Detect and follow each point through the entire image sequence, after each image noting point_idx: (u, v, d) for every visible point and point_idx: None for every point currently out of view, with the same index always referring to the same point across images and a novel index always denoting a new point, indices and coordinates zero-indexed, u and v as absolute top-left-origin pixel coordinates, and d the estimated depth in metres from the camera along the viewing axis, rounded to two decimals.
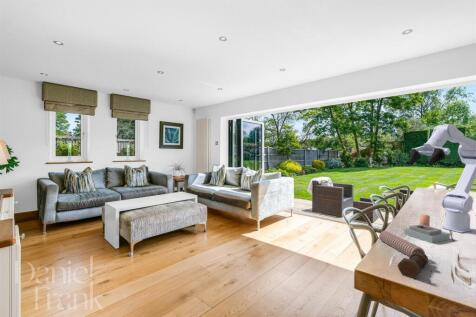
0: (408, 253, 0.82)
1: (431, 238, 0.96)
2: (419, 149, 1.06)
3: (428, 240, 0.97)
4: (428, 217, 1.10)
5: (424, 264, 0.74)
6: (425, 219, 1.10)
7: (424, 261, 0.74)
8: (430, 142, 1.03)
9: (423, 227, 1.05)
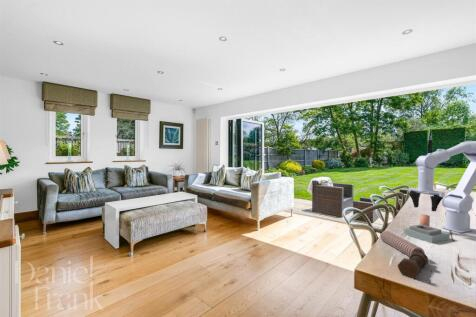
0: (408, 253, 0.83)
1: (431, 238, 0.96)
2: (415, 190, 1.14)
3: (428, 240, 0.97)
4: (428, 217, 1.10)
5: (424, 264, 0.74)
6: (425, 219, 1.10)
7: (424, 261, 0.74)
8: (422, 186, 1.09)
9: (423, 227, 1.05)
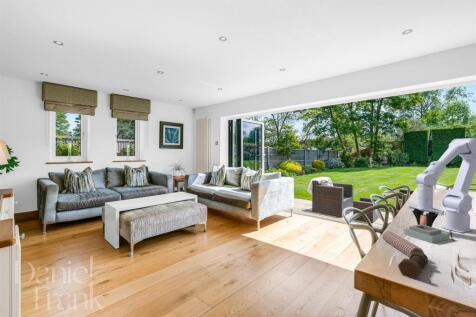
0: (407, 253, 0.83)
1: (431, 238, 0.96)
2: None
3: (428, 240, 0.97)
4: None
5: (424, 264, 0.74)
6: (425, 219, 1.10)
7: (424, 261, 0.74)
8: (422, 204, 1.10)
9: (423, 227, 1.05)
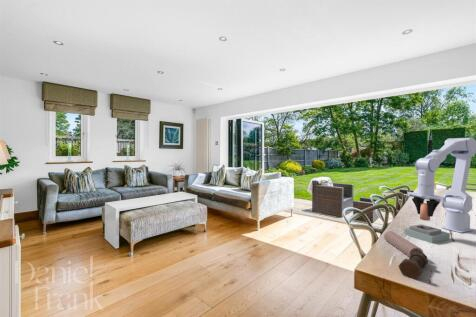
0: (406, 252, 0.83)
1: (431, 238, 0.96)
2: (415, 195, 1.07)
3: (428, 240, 0.97)
4: None
5: (424, 264, 0.74)
6: (426, 208, 1.03)
7: (424, 261, 0.74)
8: (422, 191, 1.03)
9: (423, 227, 1.05)
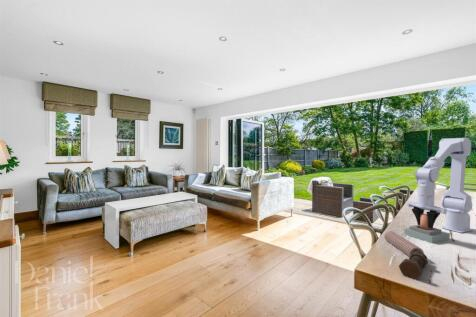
0: (406, 252, 0.83)
1: (431, 238, 0.96)
2: None
3: (428, 240, 0.97)
4: None
5: (424, 264, 0.74)
6: (426, 219, 1.00)
7: (424, 261, 0.74)
8: (422, 201, 1.00)
9: None
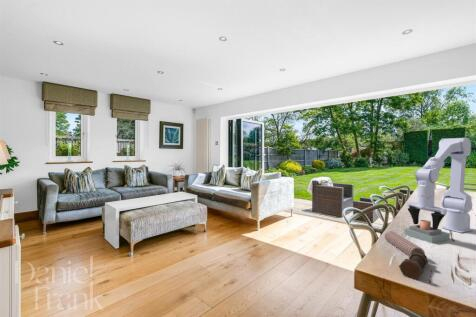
0: (407, 252, 0.83)
1: (431, 238, 0.96)
2: None
3: (428, 240, 0.97)
4: (429, 223, 1.00)
5: (424, 264, 0.74)
6: (426, 226, 1.01)
7: (424, 261, 0.74)
8: (422, 202, 1.00)
9: None
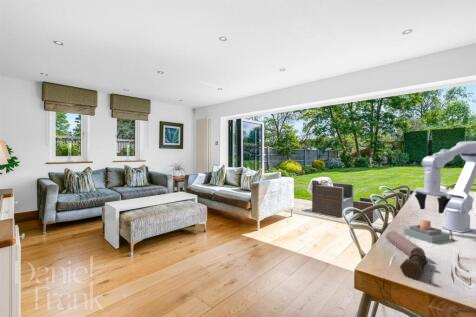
0: (407, 252, 0.83)
1: (431, 238, 0.96)
2: (421, 191, 1.11)
3: (428, 240, 0.97)
4: (429, 223, 1.00)
5: (424, 264, 0.74)
6: (426, 226, 1.01)
7: (424, 261, 0.74)
8: (429, 187, 1.06)
9: None
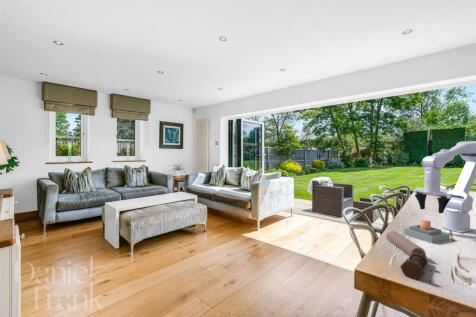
0: (408, 252, 0.83)
1: (431, 238, 0.96)
2: (421, 191, 1.11)
3: (428, 240, 0.97)
4: (429, 223, 1.00)
5: (424, 264, 0.74)
6: (426, 225, 1.01)
7: (424, 261, 0.74)
8: (429, 187, 1.06)
9: None
